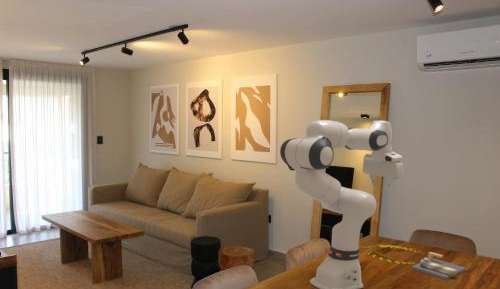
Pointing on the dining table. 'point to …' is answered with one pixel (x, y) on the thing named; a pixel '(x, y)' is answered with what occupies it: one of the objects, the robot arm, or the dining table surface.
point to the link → (438, 267)
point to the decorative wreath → (391, 257)
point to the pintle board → (437, 273)
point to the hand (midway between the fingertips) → (382, 185)
